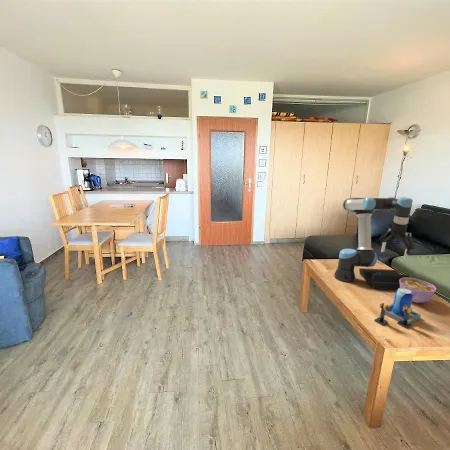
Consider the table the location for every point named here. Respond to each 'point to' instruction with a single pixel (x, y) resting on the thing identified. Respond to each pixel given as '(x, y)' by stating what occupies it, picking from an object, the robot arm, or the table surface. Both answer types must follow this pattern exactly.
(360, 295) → the table surface
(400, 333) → the table surface
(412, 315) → the tray
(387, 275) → the video game console
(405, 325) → the clip posts
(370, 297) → the table surface
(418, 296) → the bowl of food
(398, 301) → the beer can
